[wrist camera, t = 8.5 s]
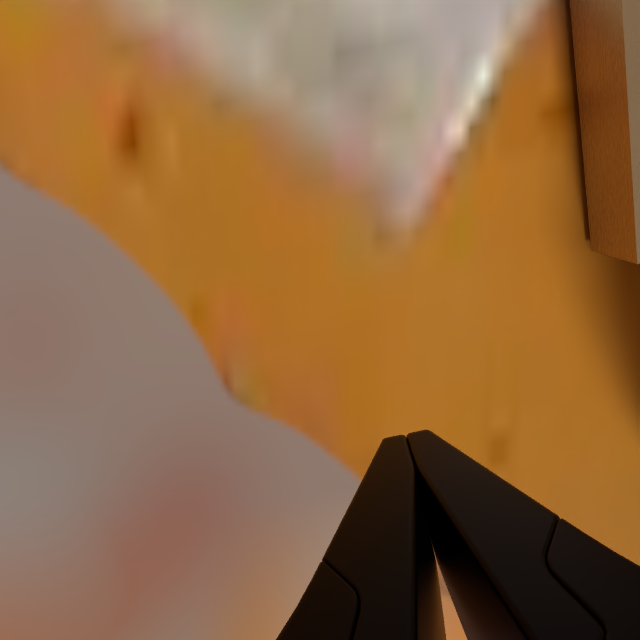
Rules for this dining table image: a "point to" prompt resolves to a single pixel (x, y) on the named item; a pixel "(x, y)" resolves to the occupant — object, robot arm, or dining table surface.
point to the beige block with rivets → (610, 120)
